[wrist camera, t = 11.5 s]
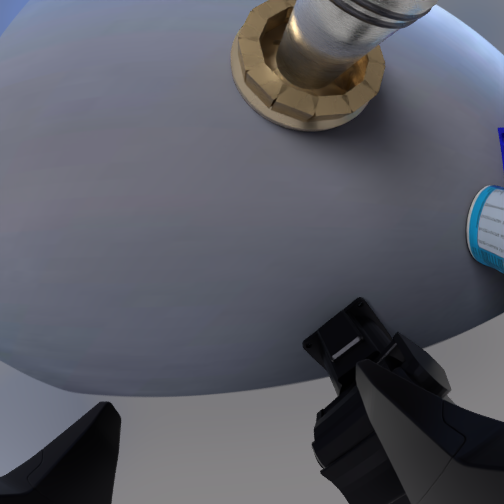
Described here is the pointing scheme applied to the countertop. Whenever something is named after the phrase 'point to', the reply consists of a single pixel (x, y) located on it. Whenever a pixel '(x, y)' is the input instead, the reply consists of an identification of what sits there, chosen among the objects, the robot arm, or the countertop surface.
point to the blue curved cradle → (501, 142)
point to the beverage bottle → (487, 227)
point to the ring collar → (285, 93)
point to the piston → (339, 35)
